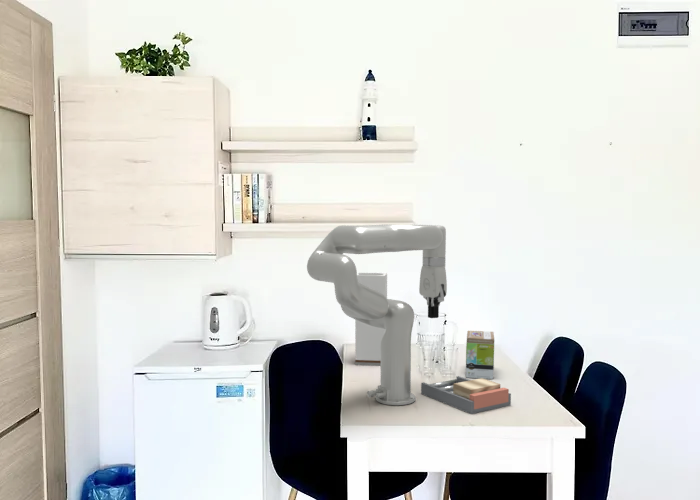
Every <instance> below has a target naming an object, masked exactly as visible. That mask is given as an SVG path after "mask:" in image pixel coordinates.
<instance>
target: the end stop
mask: <svg viewBox="0 0 700 500" xmlns="http://www.w3.org/2000/svg"><path fill="white" fill-rule="evenodd" d="M509 390H510V389H509V388H506V387H500V388H499V389H494V390H489V391H484V392H479V393H474V394H470V400H472V401H474V409H479V408H483V407H488V406H492V405H497V404H501V403H506V402H508V396H509V393H510V392H509Z"/></svg>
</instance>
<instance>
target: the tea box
mask: <svg viewBox="0 0 700 500" xmlns="http://www.w3.org/2000/svg"><path fill="white" fill-rule="evenodd" d="M494 333H495V332H494V331H485V330H467V334H466V343H465V344H466V346H465V378H466V379H469V378H470V379H480V378H483V379H486V380H494V368H495V367H494V366H495V335H494Z"/></svg>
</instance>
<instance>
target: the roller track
mask: <svg viewBox="0 0 700 500" xmlns="http://www.w3.org/2000/svg"><path fill="white" fill-rule="evenodd" d="M456 380H457V381H458V383H459V382H464V381H470V380H471V379H469V378H467V377H463V376H461V375H458V376H456ZM429 384H430V383H427V382H421V384H420V388H421V389H420V390H421V395H424V396H426V397H428V398H431V399H434V400H436V401H438V402H441V403H444V404H445V405H448V406H450V407H453V408H455V409H458V410H461V411H463V412H465V413H467V414H471V415H473V414H478V413H482V412H487V411H491V410H495V409H500V408H505V407H508V406H511V405H512V393H510V392H509V396H508V402H506V403H501V404H497V405H492V406H488V407H483V408H479V409H474V401H472V400H469V399H466V398H464V397H461V396H458V395H456V394H453V393H450V392H448V391H445V390H442V389H440V388H437V387H435V386H432V385H429Z"/></svg>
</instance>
